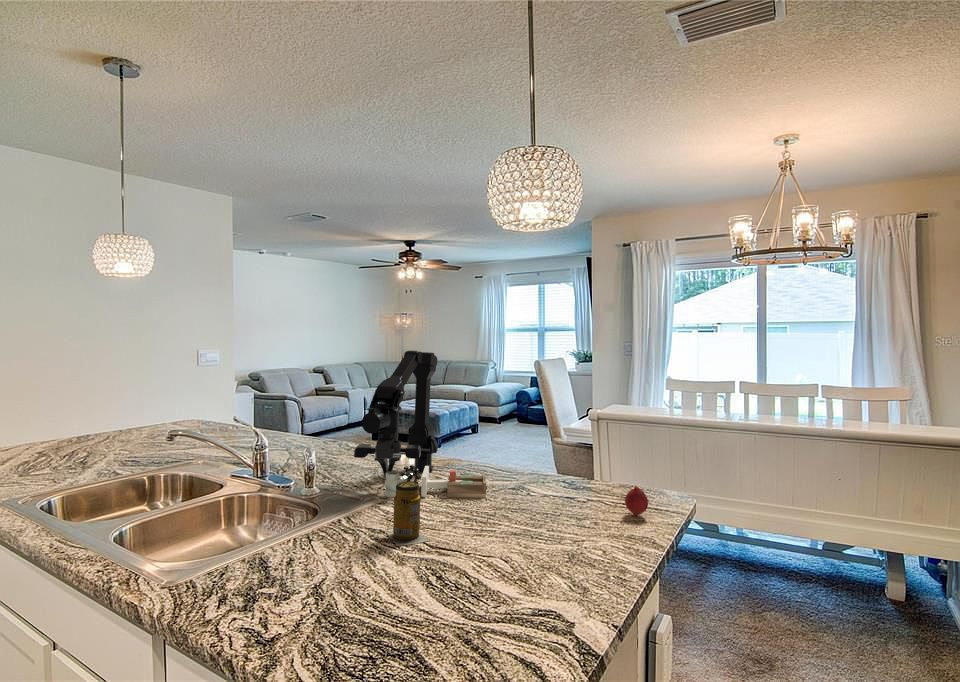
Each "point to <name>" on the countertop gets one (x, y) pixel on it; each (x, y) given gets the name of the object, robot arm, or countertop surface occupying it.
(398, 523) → the condiment
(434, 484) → the white t-shaped slider
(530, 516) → the countertop surface
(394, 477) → the valve
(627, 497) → the onion
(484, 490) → the gauge housing
